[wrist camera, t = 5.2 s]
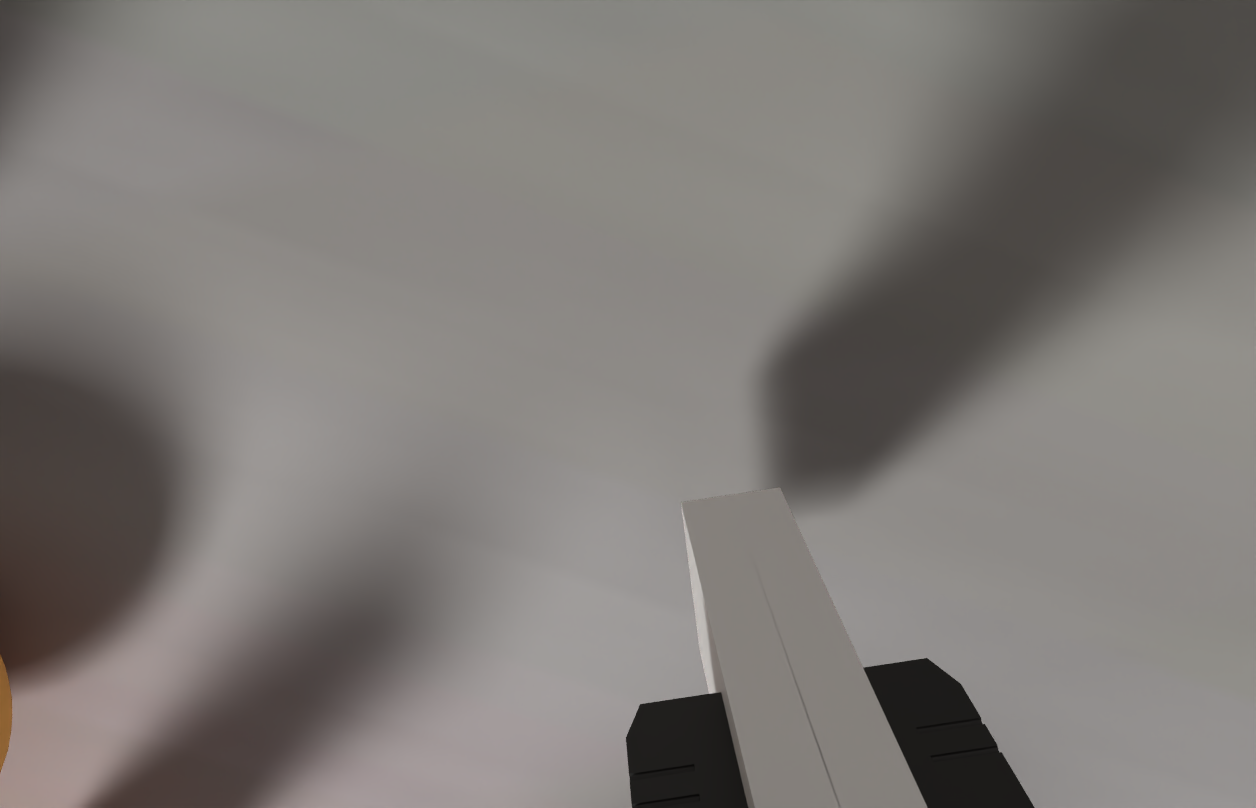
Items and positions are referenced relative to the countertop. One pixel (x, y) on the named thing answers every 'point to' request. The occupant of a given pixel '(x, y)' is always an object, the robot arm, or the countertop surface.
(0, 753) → the ball
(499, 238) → the countertop surface
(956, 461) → the countertop surface
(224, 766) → the countertop surface
